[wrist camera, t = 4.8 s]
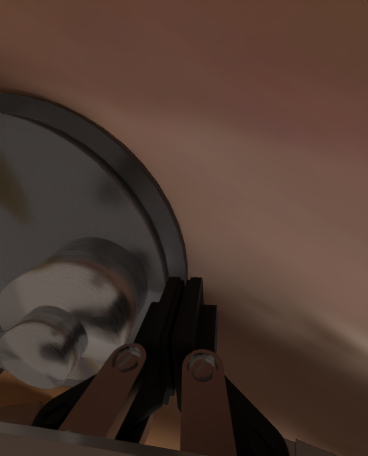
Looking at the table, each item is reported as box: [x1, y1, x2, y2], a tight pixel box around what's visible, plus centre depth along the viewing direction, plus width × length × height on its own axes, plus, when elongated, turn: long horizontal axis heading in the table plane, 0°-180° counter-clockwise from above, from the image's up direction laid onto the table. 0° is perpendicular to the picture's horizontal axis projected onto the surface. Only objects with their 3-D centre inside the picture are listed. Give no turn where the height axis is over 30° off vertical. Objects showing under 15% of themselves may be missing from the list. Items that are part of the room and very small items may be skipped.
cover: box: [0, 237, 148, 389], centre depth 12 cm, size 6×6×6 cm
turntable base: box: [0, 93, 188, 285], centre depth 17 cm, size 22×22×1 cm
